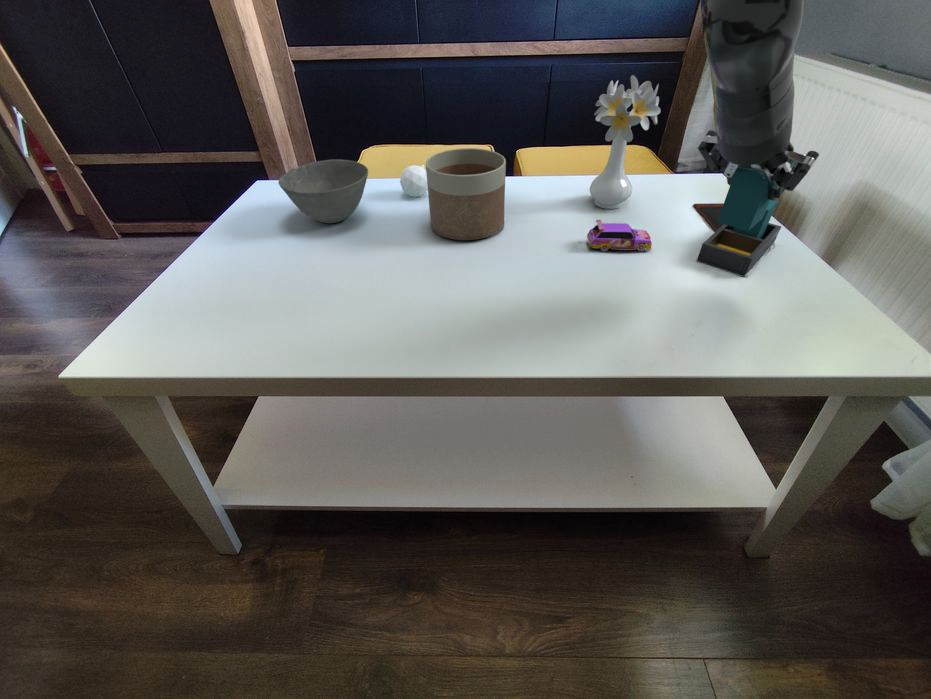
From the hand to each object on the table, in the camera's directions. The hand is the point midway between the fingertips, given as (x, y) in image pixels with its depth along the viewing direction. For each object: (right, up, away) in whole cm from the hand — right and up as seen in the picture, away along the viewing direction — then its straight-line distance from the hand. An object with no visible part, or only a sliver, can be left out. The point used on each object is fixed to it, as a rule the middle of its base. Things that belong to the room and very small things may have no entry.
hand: (755, 188), depth 65 cm
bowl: (-72, +7, +38) cm, 82 cm away
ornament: (-54, +15, +47) cm, 73 cm away
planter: (-41, +4, +34) cm, 53 cm away
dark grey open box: (+10, -4, +22) cm, 25 cm away
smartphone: (+13, +4, +33) cm, 36 cm away
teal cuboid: (+13, -2, +24) cm, 27 cm away
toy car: (-11, -3, +25) cm, 28 cm away
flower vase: (-8, +10, +40) cm, 42 cm away
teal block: (-1, -4, +2) cm, 5 cm away
